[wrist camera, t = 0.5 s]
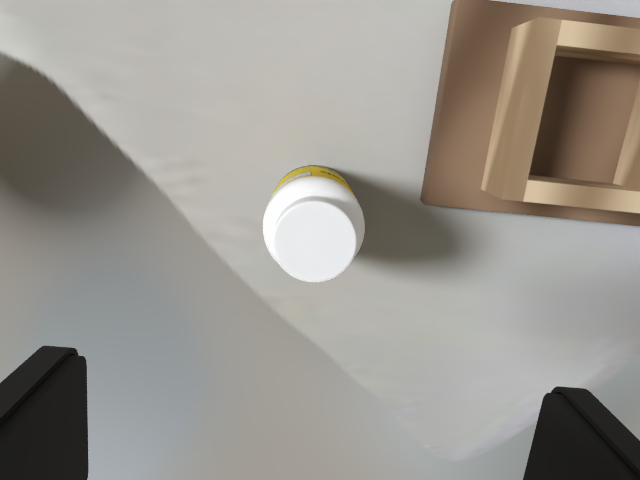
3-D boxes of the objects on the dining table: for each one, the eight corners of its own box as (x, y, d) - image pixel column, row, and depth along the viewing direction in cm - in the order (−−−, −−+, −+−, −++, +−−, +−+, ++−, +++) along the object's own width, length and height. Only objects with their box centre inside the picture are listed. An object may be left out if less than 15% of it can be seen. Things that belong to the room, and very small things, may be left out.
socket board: (709, 32, 30) (787, 18, 25) (654, 223, 33) (713, 243, 28) (451, 2, 29) (479, -19, 24) (420, 200, 32) (439, 216, 27)
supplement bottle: (368, 219, 32) (392, 264, 23) (298, 258, 33) (293, 318, 24) (328, 147, 31) (336, 164, 22) (256, 189, 32) (233, 223, 22)
